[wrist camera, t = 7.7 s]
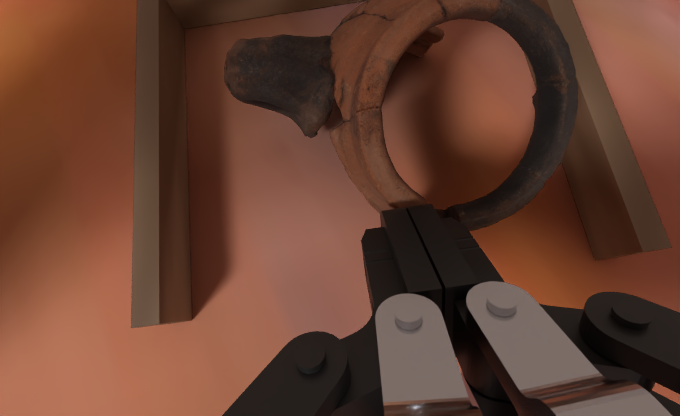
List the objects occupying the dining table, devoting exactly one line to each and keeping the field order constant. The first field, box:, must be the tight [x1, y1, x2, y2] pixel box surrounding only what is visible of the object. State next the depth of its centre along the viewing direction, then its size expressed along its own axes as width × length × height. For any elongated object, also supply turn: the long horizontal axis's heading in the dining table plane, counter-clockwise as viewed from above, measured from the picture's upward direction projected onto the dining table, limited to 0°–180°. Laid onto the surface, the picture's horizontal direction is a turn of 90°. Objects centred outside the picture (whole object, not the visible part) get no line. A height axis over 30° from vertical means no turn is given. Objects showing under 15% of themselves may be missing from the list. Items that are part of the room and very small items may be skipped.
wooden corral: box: [131, 0, 672, 328], centre depth 15 cm, size 19×16×2 cm
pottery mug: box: [224, 0, 578, 231], centre depth 14 cm, size 12×10×8 cm
